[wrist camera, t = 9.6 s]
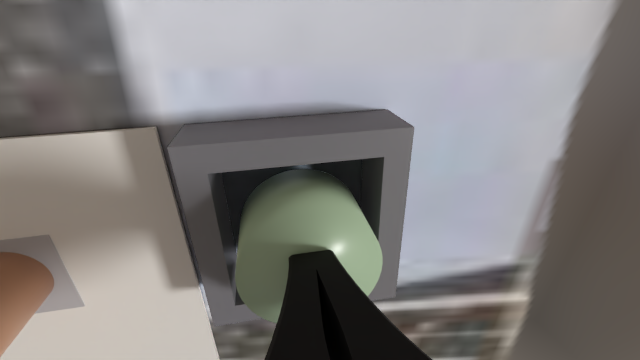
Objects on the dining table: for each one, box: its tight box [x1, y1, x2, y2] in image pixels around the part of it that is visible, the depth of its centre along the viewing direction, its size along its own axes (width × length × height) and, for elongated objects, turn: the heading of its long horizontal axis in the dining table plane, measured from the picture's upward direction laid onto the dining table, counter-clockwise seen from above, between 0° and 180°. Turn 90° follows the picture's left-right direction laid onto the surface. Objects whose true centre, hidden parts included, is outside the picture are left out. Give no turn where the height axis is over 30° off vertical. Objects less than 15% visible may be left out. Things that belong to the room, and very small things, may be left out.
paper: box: [0, 127, 220, 360], centre depth 14 cm, size 14×12×1 cm
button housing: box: [167, 110, 414, 326], centre depth 13 cm, size 8×8×2 cm
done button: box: [235, 169, 383, 323], centre depth 11 cm, size 5×5×3 cm
